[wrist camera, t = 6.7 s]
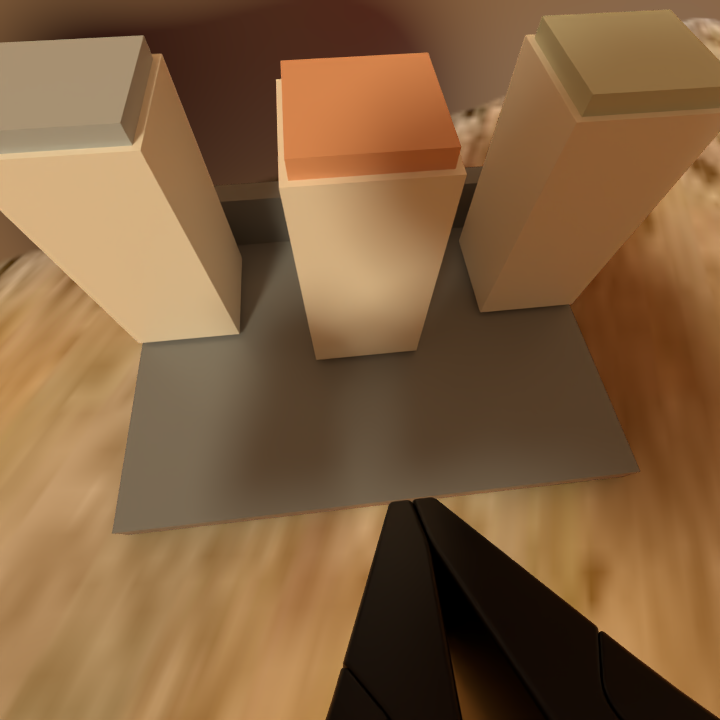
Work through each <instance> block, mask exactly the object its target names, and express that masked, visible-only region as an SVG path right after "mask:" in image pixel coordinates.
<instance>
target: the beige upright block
mask: <svg viewBox="0 0 720 720" xmlns="http://www.w3.org/2000/svg"><path fill="white" fill-rule="evenodd" d="M719 132H720V61H719V60H718V59H717V58H716V57H715V56H714V55H713V53H712V52H711V51H710V50H709V49H708V48H707V47H706V46H705V45H704V44H703V43H702V42H701V41H700V40H699V39H698V38H697V37H696V36H695V35H694V34H693V33H692V32H691V31H690V30H689V29H688V28H687V26H686V25H685V24H684V23H683V22H682V21H681V20H680V19H679V18H678V17H677V16H676V15H675V14H674V13H673V12H672V11H671V10H651V11H631V12H611V13H593V14H573V15H552V16H542V18H541V21H540V24H539V27H538V29H537V32H536V35H525V38H524V41H523V44H522V47H521V50H520V53H519V56H518V59H517V62H516V66H515V69H514V72H513V75H512V78H511V81H510V84H509V88H508V90H507V93H506V96H505V100H504V103H503V106H502V109H501V112H500V115H499V118H498V121H497V124H496V127H495V131H494V134H493V137H492V140H491V143H490V146H489V149H488V152H487V155H486V158H485V162H484V165H483V168H482V171H481V174H480V177H479V180H478V183H477V186H476V189H475V192H474V196H473V199H472V202H471V205H470V208H469V211H468V214H467V217H466V220H465V223H464V227H463V230H462V233H461V236H460V239H459V243H460V246H461V250H462V253H463V257H464V260H465V263H466V267H467V270H468V273H469V277H470V280H471V283H472V287H473V290H474V293H475V297H476V300H477V304H478V307H479V310H480V312H490V311H501V310H512V309H523V308H534V307H545V306H556V305H566V304H572V303H573V302H574V301H575V300H576V299H577V297H578V296H579V295H580V294H581V293H582V292H583V291H584V289H585V288H586V287H587V286H588V285H589V284H590V282H591V281H592V280H593V279H594V278H595V277H596V275H597V274H598V273H599V272H600V271H601V270H602V268H603V267H604V266H605V265H606V264H607V263H608V261H609V260H610V259H611V258H612V257H613V256H614V254H615V253H616V252H617V251H618V250H619V249H620V247H621V246H622V245H623V244H624V243H625V242H626V240H627V239H628V238H629V237H630V236H631V235H632V233H633V232H634V231H635V230H636V229H637V228H638V226H639V225H640V224H641V223H642V222H643V221H644V219H645V218H646V217H647V216H648V215H649V214H650V213H651V211H652V210H653V209H654V208H655V207H656V206H657V204H658V203H659V202H660V201H661V200H662V199H663V197H664V196H665V195H666V194H667V193H668V192H669V190H670V189H671V188H672V187H673V186H674V185H675V183H676V182H677V181H678V180H679V179H680V178H681V176H682V175H683V174H684V173H685V172H686V171H687V169H688V168H689V167H690V166H691V165H692V164H693V162H694V161H695V160H696V159H697V158H698V157H699V155H700V154H701V153H702V152H703V151H704V150H705V148H706V147H707V146H708V145H709V144H710V143H711V142H712V140H713V139H714V138H715V137H716V136H717V135H718V133H719Z"/></svg>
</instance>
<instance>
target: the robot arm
mask: <svg viewBox="0 0 720 720" xmlns="http://www.w3.org/2000/svg"><path fill="white" fill-rule="evenodd" d="M326 720H720V719H719V718H718V717H717V716H715V715H714V714H712V713H711V712H710V711H708V710H707V709H705V708H704V707H703V706H701V705H700V704H698V703H697V702H696V701H694V700H693V699H691V698H690V697H688V696H687V695H686V694H684V693H683V692H681V691H680V690H679V689H677V688H676V687H675V686H673V685H672V684H671V683H669V682H668V681H667V680H666V679H664V678H663V677H662V676H660V675H659V674H658V673H656V672H655V671H654V670H652V669H651V668H650V667H648V666H647V665H646V664H645V663H643V662H642V661H641V660H639V659H638V658H637V657H635V656H634V655H633V654H631V653H630V652H629V651H628V650H626V649H625V648H624V647H623V646H621V645H620V644H619V643H618V642H616V641H615V640H614V639H612V638H611V637H610V636H609V635H607V634H606V633H605V632H603V631H601V632H599V631H598V628H597V626H596V625H594V624H593V623H592V622H591V621H589V620H588V619H587V618H586V617H584V616H583V615H582V614H581V613H579V612H578V611H577V610H576V609H574V608H573V607H572V606H570V605H569V604H568V603H567V602H565V601H564V600H563V599H562V598H560V597H559V596H558V595H557V594H555V593H554V592H553V591H552V590H550V589H549V588H548V587H546V586H545V585H544V584H543V583H541V582H540V581H539V580H538V579H536V578H535V577H534V576H533V575H531V574H530V573H529V572H528V571H526V570H525V569H524V568H523V567H521V566H520V565H519V564H517V563H516V562H515V561H514V560H512V559H511V558H510V557H509V556H507V555H506V554H505V553H504V552H502V551H501V550H500V549H499V548H497V547H496V546H495V545H493V544H492V543H491V542H490V541H488V540H487V539H486V538H485V537H483V536H482V535H481V534H480V533H478V532H477V531H476V530H475V529H473V528H472V527H471V526H469V525H468V524H467V523H466V522H464V521H463V520H462V519H461V518H459V517H458V516H457V515H456V514H454V513H453V512H452V511H451V510H449V509H448V508H447V507H446V506H444V505H443V504H442V503H440V502H439V501H438V500H437V499H435V498H433V497H427V498H419V499H414V500H413V502H411V501H410V500H402V501H393V502H391V503H390V504H389V506H388V510H387V513H386V517H385V520H384V524H383V527H382V531H381V534H380V538H379V541H378V544H377V548H376V551H375V555H374V558H373V562H372V565H371V569H370V572H369V576H368V579H367V582H366V586H365V589H364V593H363V596H362V600H361V603H360V607H359V610H358V613H357V617H356V620H355V624H354V627H353V631H352V634H351V638H350V641H349V645H348V648H347V651H346V655H345V658H344V662H343V668H342V669H341V671H340V674H339V678H338V681H337V685H336V688H335V692H334V695H333V698H332V702H331V705H330V708H329V711H328V714H327V717H326Z"/></svg>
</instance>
